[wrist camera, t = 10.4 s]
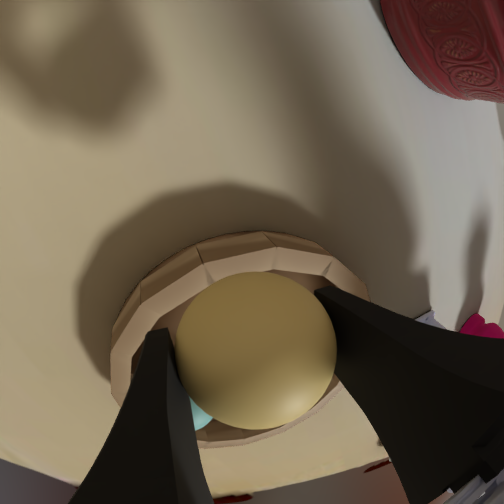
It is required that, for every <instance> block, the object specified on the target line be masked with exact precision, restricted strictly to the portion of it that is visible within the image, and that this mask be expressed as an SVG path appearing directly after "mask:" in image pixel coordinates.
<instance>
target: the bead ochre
mask: <svg viewBox="0 0 504 504" xmlns="http://www.w3.org/2000/svg"><path fill="white" fill-rule="evenodd" d="M174 352H175V362H176V366H177V371H178V375H179V378H180V381H181V383H182V385H183V386H184V388H185V390H186V392H187V394H188V395H189V396H190V398H191V399H192V400H193V401H194V403H195V404H196V405H197V406H198V407H199V408H201V409H202V410H203V411H204V412H205V413H206V414H208V415H209V416H211V417H213V418H214V419H216V420H218V421H220V422H222V423H225V424H227V425H230V426H233V427H238V428H243V429H269V428H274V427H278V426H281V425H284V424H287V423H289V422H291V421H293V420H295V419H297V418H299V417H300V416H302V415H303V414H305V413H306V412H307V411H309V410H310V409H311V408H312V407H313V406H314V405H315V404H316V403H317V402H318V400H319V399H320V398H321V397H322V395H323V394H324V393H325V391H326V389H327V387H328V385H329V383H330V381H331V379H332V376H333V373H334V369H335V365H336V357H337V344H336V335H335V331H334V328H333V325H332V322H331V319H330V317H329V315H328V314H327V312H326V310H325V308H324V307H323V305H322V304H321V303H320V302H319V300H318V299H317V298H316V297H315V296H314V295H313V294H312V293H311V292H310V291H309V290H307V289H306V288H305V287H304V286H302V285H300V284H299V283H297V282H295V281H293V280H291V279H290V278H287V277H284V276H281V275H278V274H274V273H269V272H255V271H254V272H243V273H237V274H234V275H230V276H227V277H225V278H222V279H220V280H218V281H216V282H215V283H213V284H211V285H210V286H208V287H207V288H205V289H204V290H203V291H202V292H201V293H200V294H198V295H197V296H196V298H195V299H194V300H193V301H192V302H191V304H190V305H189V306H188V308H187V309H186V311H185V312H184V314H183V316H182V319H181V321H180V323H179V326H178V329H177V333H176V339H175V348H174Z"/></svg>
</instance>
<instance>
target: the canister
mask: <svg viewBox="0 0 504 504" xmlns="http://www.w3.org/2000/svg"><path fill="white" fill-rule="evenodd" d="M380 3H381V7H382V11H383V15H384V18H385V21H386V24H387V27H388V29H389V32H390V34H391V36H392V38H393V40H394V42H395V44H396V46H397V48H398V50H399V52H400V53H401V55H402V57H403V58H404V60H405V61H406V63H407V64H408V66H409V67H410V69H411V70H412V71H413V72H414V74H415V75H416V76H417V77H418V78H419V79H420V80H421V81H422V82H423V83H424V84H425V85H426V86H428V87H429V88H430V89H432V90H433V91H435V92H437V93H440V94H443V95H447V96H449V97H451V98H454V99H462V100H468V101H470V100H475V99H477V100H484V101H491V102H497V103H503V104H504V0H380Z"/></svg>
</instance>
